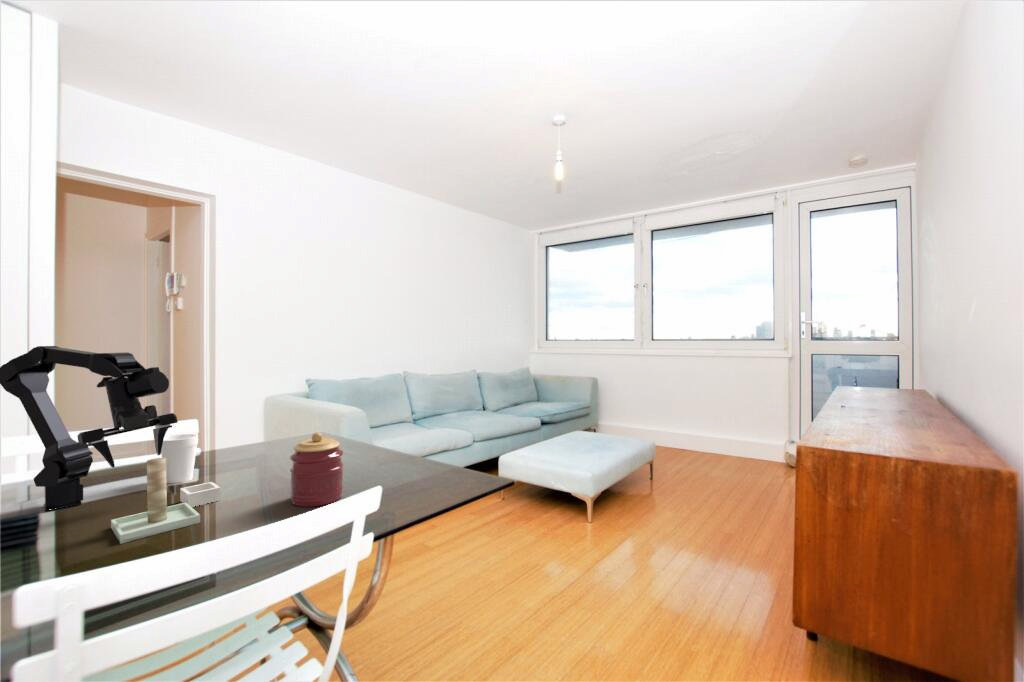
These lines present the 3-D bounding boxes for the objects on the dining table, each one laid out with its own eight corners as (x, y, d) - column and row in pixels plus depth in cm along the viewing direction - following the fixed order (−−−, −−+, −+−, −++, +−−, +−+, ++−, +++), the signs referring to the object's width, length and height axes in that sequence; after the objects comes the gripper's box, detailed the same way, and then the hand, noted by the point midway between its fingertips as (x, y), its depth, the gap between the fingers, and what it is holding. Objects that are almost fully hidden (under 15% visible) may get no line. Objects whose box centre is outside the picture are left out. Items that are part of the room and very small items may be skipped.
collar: (187, 508, 112) (187, 494, 112) (180, 501, 116) (180, 488, 116) (220, 500, 117) (220, 487, 117) (212, 494, 122) (211, 481, 122)
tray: (120, 543, 93) (120, 535, 93) (111, 527, 100) (111, 519, 100) (200, 522, 103) (200, 514, 103) (186, 509, 111) (186, 502, 111)
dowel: (145, 524, 101) (144, 462, 101) (150, 518, 104) (149, 459, 104) (164, 521, 102) (163, 460, 102) (168, 515, 105) (167, 457, 105)
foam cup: (206, 475, 138) (205, 434, 138) (181, 485, 129) (180, 440, 129) (178, 474, 139) (177, 433, 139) (151, 484, 130) (150, 440, 130)
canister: (352, 497, 119) (352, 431, 119) (303, 512, 109) (302, 440, 109) (329, 487, 127) (329, 425, 127) (282, 499, 118) (281, 432, 118)
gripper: (80, 407, 101) (94, 475, 101) (178, 390, 116) (190, 448, 116) (71, 411, 108) (84, 474, 108) (165, 394, 122) (176, 449, 122)
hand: (136, 461), depth 113 cm, fingers open, 9 cm apart
